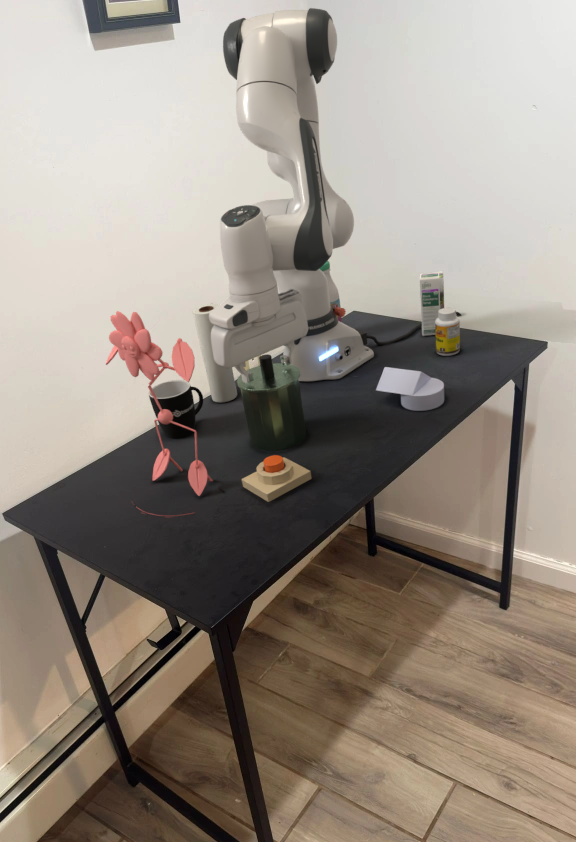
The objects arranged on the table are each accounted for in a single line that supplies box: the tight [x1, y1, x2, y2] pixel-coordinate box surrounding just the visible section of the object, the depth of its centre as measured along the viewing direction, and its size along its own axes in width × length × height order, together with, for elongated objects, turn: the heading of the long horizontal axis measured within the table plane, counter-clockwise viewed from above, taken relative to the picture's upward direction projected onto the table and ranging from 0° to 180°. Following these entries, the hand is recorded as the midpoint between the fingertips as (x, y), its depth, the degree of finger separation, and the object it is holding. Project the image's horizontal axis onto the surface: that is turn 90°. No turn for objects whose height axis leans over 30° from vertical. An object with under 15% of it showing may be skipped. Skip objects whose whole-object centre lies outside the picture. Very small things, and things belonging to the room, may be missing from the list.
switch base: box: [241, 457, 313, 503], centre depth 132 cm, size 10×8×4 cm
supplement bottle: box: [435, 307, 461, 357], centre depth 169 cm, size 6×6×10 cm
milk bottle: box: [320, 260, 343, 323], centre depth 184 cm, size 8×8×20 cm
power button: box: [262, 454, 284, 473], centre depth 130 cm, size 4×4×2 cm
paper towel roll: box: [192, 301, 238, 403], centre depth 163 cm, size 7×6×21 cm
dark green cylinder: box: [239, 379, 307, 452], centre depth 144 cm, size 11×12×14 cm
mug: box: [148, 379, 204, 439], centre depth 155 cm, size 12×9×10 cm
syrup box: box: [419, 270, 445, 337], centre depth 179 cm, size 6×6×14 cm
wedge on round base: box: [375, 366, 445, 412], centre depth 152 cm, size 9×7×13 cm
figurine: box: [105, 310, 214, 519], centre depth 126 cm, size 15×26×35 cm, turn 48°
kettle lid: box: [236, 353, 300, 392], centre depth 139 cm, size 12×12×5 cm
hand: (267, 372), depth 139 cm, fingers open, 8 cm apart
